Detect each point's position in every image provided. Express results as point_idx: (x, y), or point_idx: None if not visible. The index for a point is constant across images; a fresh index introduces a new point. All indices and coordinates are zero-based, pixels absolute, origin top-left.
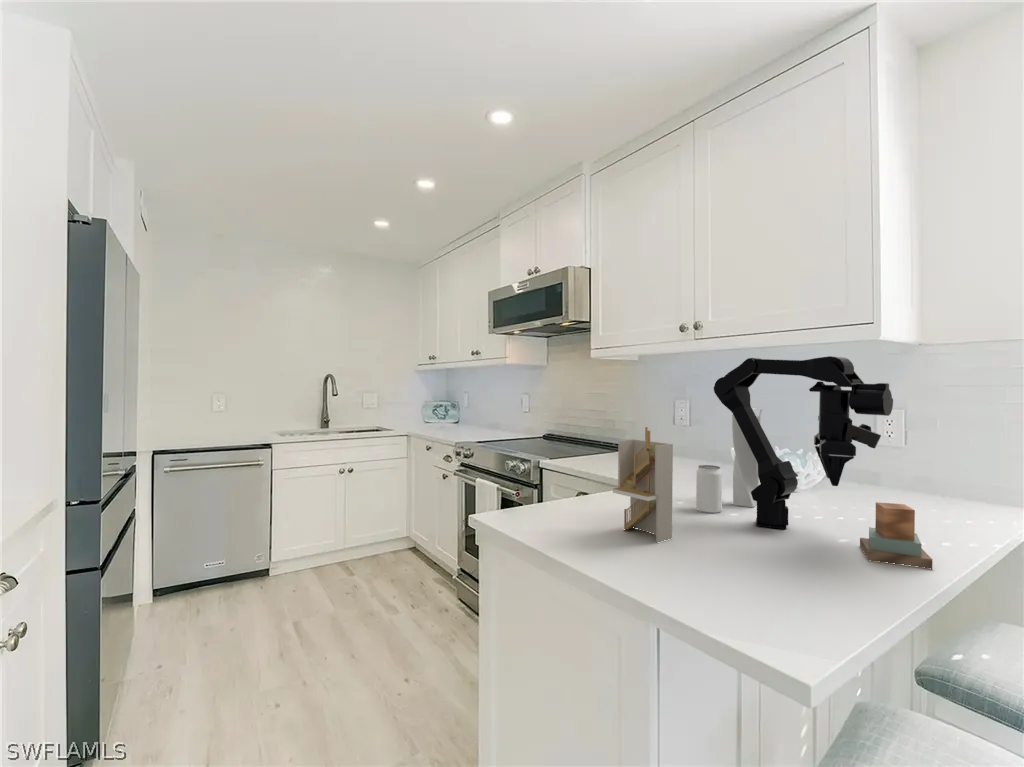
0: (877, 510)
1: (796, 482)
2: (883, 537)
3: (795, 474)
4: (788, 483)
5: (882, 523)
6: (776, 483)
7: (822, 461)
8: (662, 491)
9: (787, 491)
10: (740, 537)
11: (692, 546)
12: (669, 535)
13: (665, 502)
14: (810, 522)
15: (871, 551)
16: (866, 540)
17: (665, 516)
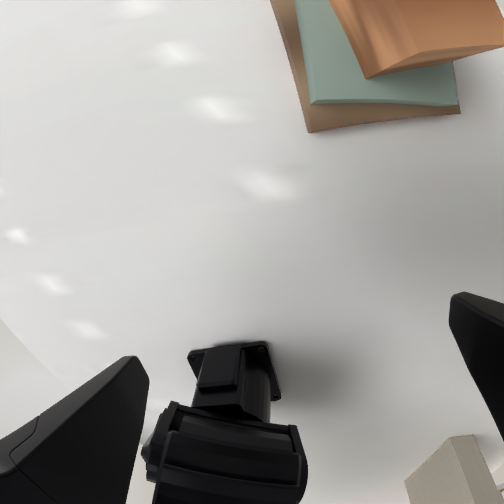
0: (425, 56)
1: (183, 444)
2: (439, 64)
3: (174, 477)
4: (262, 463)
5: (455, 57)
6: (306, 481)
7: (121, 499)
8: (492, 496)
9: (260, 436)
10: (400, 390)
11: (478, 407)
12: (455, 442)
13: (481, 483)
14: (116, 296)
15: (457, 106)
16: (339, 111)
17: (474, 465)
